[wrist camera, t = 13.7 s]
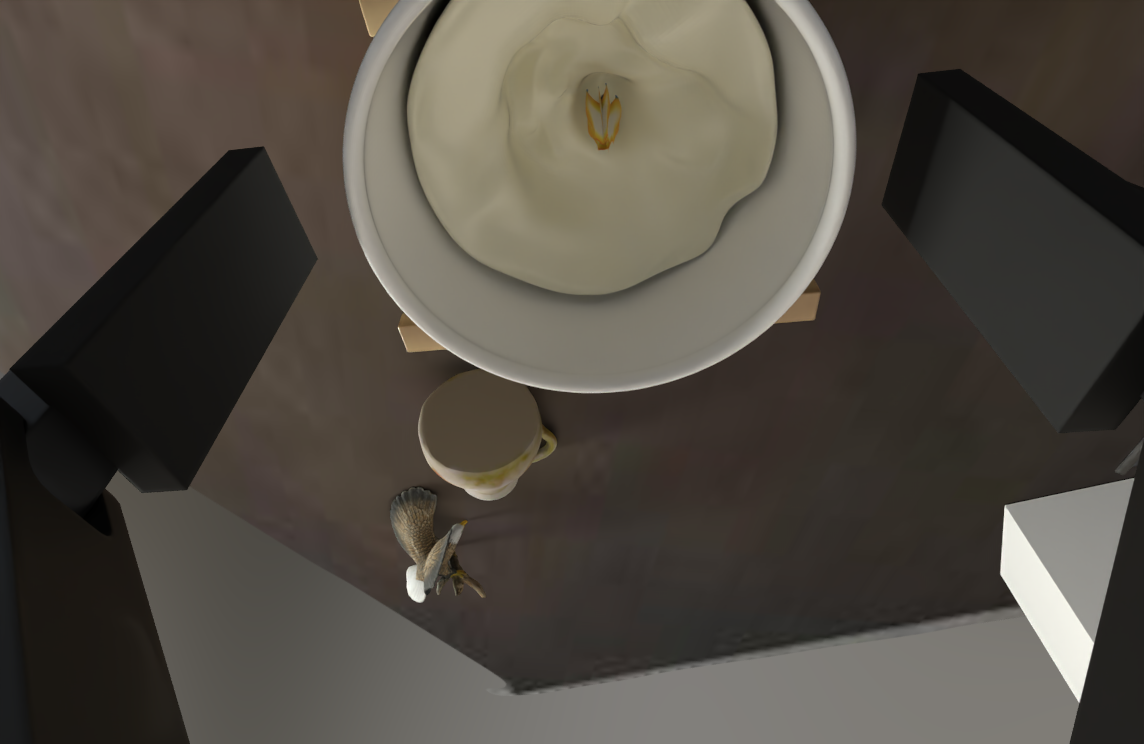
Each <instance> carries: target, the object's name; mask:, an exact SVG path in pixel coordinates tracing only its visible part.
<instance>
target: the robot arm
mask: <svg viewBox="0 0 1144 744" xmlns="http://www.w3.org/2000/svg"><path fill="white" fill-rule="evenodd" d="M882 206H883V208H884V209H885V210H886V212H887V213H888V214H889V215H890V217H891V218H892V219H893V221H894V222H895V223H896V224H897V226H898V227H899V228H900V230H901V231H902V232H903V233H904V235H905V236H906V237H907V239H908V240H909V241H910V242H911V244H912V245H913V246H914V248H915V249H916V250H917V252H918V253H919V254H920V255H921V257H922V258H923V259H924V261H925V262H926V263H927V264H928V266H929V267H930V268H931V270H932V271H933V272H934V273H935V275H936V276H937V277H938V279H939V280H940V281H941V282H942V284H943V285H944V286H945V288H946V289H947V290H948V291H949V293H950V294H951V295H952V297H953V298H954V299H955V301H956V302H957V303H958V304H959V306H960V307H961V308H962V310H963V311H964V312H965V313H966V315H967V316H968V317H969V319H970V320H971V321H972V322H973V324H974V325H975V326H976V328H977V329H978V330H979V331H980V333H981V334H982V335H983V337H984V338H985V339H986V340H987V342H988V343H989V344H990V346H991V347H992V348H993V350H994V351H995V352H996V353H997V355H998V356H999V357H1000V359H1001V360H1002V361H1003V362H1004V364H1005V365H1006V366H1007V368H1008V369H1009V370H1010V371H1011V373H1012V374H1013V375H1014V377H1015V378H1016V379H1017V380H1018V382H1019V383H1020V384H1021V386H1022V387H1023V388H1024V389H1025V391H1026V392H1027V393H1028V395H1029V396H1030V397H1031V399H1032V400H1033V401H1034V402H1035V404H1036V405H1037V406H1038V408H1039V409H1040V410H1041V411H1042V413H1043V414H1044V415H1045V417H1046V418H1047V419H1048V420H1049V422H1050V423H1051V424H1052V426H1053V427H1054V428H1055V429H1056V431H1057V432H1058V433H1069V432H1084V431H1099V430H1115V429H1116V428H1117V427H1118V426H1119V425H1120V424H1121V422H1122V421H1123V420H1124V419H1125V418H1126V416H1127V415H1128V414H1129V413H1130V411H1131V410H1132V409H1133V408H1134V407H1135V405H1136V404H1137V403H1138V402H1139V400H1140V399H1141V398H1142V399H1143V401H1144V188H1143V187H1140V186H1138V185H1135V184H1132V183H1130V182H1127V181H1125V180H1124V179H1122V178H1121V177H1119V176H1118V175H1116V174H1115V173H1113V172H1112V171H1111V170H1109V169H1108V168H1106V167H1105V166H1103V165H1102V164H1100V163H1099V162H1097V161H1096V160H1094V159H1093V158H1091V157H1090V156H1088V155H1087V154H1085V153H1084V152H1082V151H1081V150H1079V149H1078V148H1076V147H1075V146H1074V145H1072V144H1071V143H1069V142H1068V141H1066V140H1065V139H1063V138H1062V137H1060V136H1059V135H1057V134H1056V133H1054V132H1053V131H1051V130H1050V129H1048V128H1047V127H1045V126H1044V125H1042V124H1041V123H1039V122H1038V121H1037V120H1035V119H1034V118H1032V117H1031V116H1029V115H1028V114H1026V113H1025V112H1023V111H1022V110H1020V109H1019V108H1017V107H1016V106H1014V105H1013V104H1011V103H1010V102H1008V101H1007V100H1005V99H1004V98H1002V97H1001V96H999V95H998V94H997V93H995V92H994V91H992V90H991V89H989V88H988V87H986V86H985V85H983V84H982V83H980V82H979V81H977V80H976V79H974V78H973V77H971V76H970V75H968V74H967V73H965V72H964V71H962V70H961V69H955V70H946V71H937V72H928V73H919V74H918V77H917V80H916V84H915V87H914V91H913V95H912V98H911V102H910V105H909V109H908V112H907V116H906V120H905V123H904V127H903V130H902V134H901V137H900V141H899V144H898V148H897V152H896V155H895V159H894V162H893V166H892V169H891V173H890V177H889V180H888V184H887V187H886V191H885V194H884V198H883V202H882ZM317 259H318V258H317V256H316V254H315V252H314V250H313V248H312V246H311V244H310V242H309V240H308V237H307V235H306V233H305V231H304V229H303V227H302V225H301V223H300V221H299V219H298V217H297V215H296V212H295V210H294V208H293V206H292V204H291V202H290V200H289V198H288V196H287V194H286V192H285V190H284V187H283V185H282V183H281V181H280V179H279V177H278V175H277V173H276V171H275V169H274V167H273V165H272V162H271V160H270V158H269V156H268V154H267V152H266V150H265V148H264V146H263V147H254V148H245V149H237V150H229V151H228V152H227V153H226V154H225V155H224V156H223V157H222V158H221V159H220V160H219V161H218V162H217V163H216V164H215V165H214V166H213V167H212V168H211V169H210V170H209V171H208V172H207V173H206V174H205V175H204V176H203V177H202V178H201V179H200V180H199V181H198V182H197V183H196V184H195V185H194V186H193V187H192V188H191V189H190V190H189V191H188V192H187V193H186V194H185V195H184V196H183V197H182V198H181V199H180V200H179V201H178V202H177V203H176V204H175V205H174V206H173V207H172V208H171V209H170V210H169V211H168V212H167V213H166V214H165V215H164V216H163V217H162V218H161V219H159V220H158V221H157V222H156V223H155V224H154V225H153V226H152V227H151V228H150V229H149V230H148V231H147V232H146V233H145V234H144V235H143V236H142V237H141V238H140V239H139V240H138V241H137V242H136V243H135V244H134V245H133V246H132V247H131V248H130V249H129V250H128V251H127V252H126V253H125V254H124V255H123V256H122V257H121V258H120V259H119V260H118V261H117V262H116V263H115V264H114V265H113V266H112V267H111V268H110V269H109V270H108V271H107V272H106V273H105V274H104V275H103V276H102V277H101V278H100V279H99V280H98V281H97V282H96V283H95V284H94V285H93V286H92V287H91V288H90V289H89V290H88V291H87V292H86V293H85V294H84V295H83V296H82V297H81V298H80V299H79V300H78V301H77V302H76V303H75V304H74V305H73V306H72V307H71V308H70V309H69V310H68V311H67V312H66V313H65V314H64V315H63V316H62V317H61V318H60V319H59V320H58V321H57V322H56V323H55V324H54V325H53V326H52V327H51V328H50V329H49V330H48V331H47V332H46V333H45V334H44V335H43V336H42V337H41V338H40V339H39V340H38V341H37V342H36V343H35V344H34V345H33V346H32V347H31V348H30V349H29V350H28V351H27V352H26V353H25V354H24V355H23V356H22V357H21V358H20V359H19V360H18V361H17V362H16V363H15V364H14V365H13V366H12V367H11V368H10V371H9V372H8V373H7V374H6V375H5V376H4V377H3V378H2V379H1V380H0V744H190V743H189V739H188V736H187V732H186V729H185V725H184V722H183V719H182V715H181V712H180V708H179V705H178V702H177V698H176V695H175V691H174V688H173V684H172V681H171V677H170V674H169V671H168V667H167V664H166V661H165V657H164V654H163V650H162V647H161V643H160V640H159V636H158V633H157V630H156V626H155V623H154V619H153V616H152V613H151V609H150V606H149V602H148V599H147V595H146V592H145V589H144V585H143V582H142V578H141V575H140V572H139V568H138V564H137V561H136V558H135V555H134V551H133V548H132V544H131V541H130V538H129V534H128V530H127V527H126V523H125V520H124V517H123V513H122V510H121V507H120V503H119V502H118V501H117V500H116V498H115V497H114V496H113V495H112V494H111V493H109V492H108V491H107V490H106V489H105V488H106V486H107V485H108V483H109V482H110V480H111V479H112V477H113V476H114V475H115V473H116V472H117V470H118V471H119V472H120V473H121V474H122V475H123V476H124V477H125V478H126V479H127V480H128V481H129V482H131V483H132V484H133V485H134V486H135V487H136V488H137V489H138V490H139V491H140V492H141V493H148V492H164V491H179V490H187V489H188V487H189V485H190V484H191V482H192V480H193V478H194V477H195V475H196V473H197V471H198V470H199V468H200V466H201V464H202V462H203V461H204V459H205V457H206V455H207V454H208V452H209V450H210V448H211V447H212V445H213V443H214V441H215V439H216V438H217V436H218V434H219V432H220V431H221V429H222V427H223V425H224V424H225V422H226V420H227V418H228V417H229V415H230V413H231V411H232V409H233V408H234V406H235V404H236V402H237V401H238V399H239V397H240V395H241V394H242V392H243V390H244V388H245V386H246V385H247V383H248V381H249V379H250V378H251V376H252V374H253V372H254V371H255V369H256V367H257V365H258V364H259V362H260V360H261V358H262V356H263V355H264V353H265V351H266V349H267V348H268V346H269V344H270V342H271V341H272V339H273V337H274V335H275V333H276V332H277V330H278V328H279V326H280V325H281V323H282V321H283V319H284V318H285V316H286V314H287V312H288V310H289V309H290V307H291V305H292V303H293V302H294V300H295V298H296V296H297V295H298V293H299V291H300V289H301V288H302V286H303V284H304V282H305V280H306V279H307V277H308V275H309V273H310V272H311V270H312V268H313V266H314V265H315V263H316V261H317ZM1133 466H1137V470H1136V474H1135V478H1134V482H1133V486H1132V490H1131V494H1130V498H1129V502H1128V506H1127V510H1126V515H1125V519H1124V523H1123V527H1122V531H1121V535H1120V539H1119V543H1118V547H1117V551H1116V556H1115V560H1114V564H1113V568H1112V572H1111V576H1110V580H1109V584H1108V588H1107V592H1106V597H1105V601H1104V605H1103V609H1102V613H1101V617H1100V621H1099V625H1098V629H1097V633H1096V637H1095V642H1094V646H1093V650H1092V654H1091V658H1090V662H1089V666H1088V670H1087V674H1086V678H1085V683H1084V687H1083V691H1082V695H1081V699H1080V703H1079V708H1078V711H1077V715H1076V719H1075V724H1074V728H1073V732H1072V736H1071V740H1070V744H1144V437H1143V438H1142V439H1141V441H1140V442H1139V443H1138V444H1137V445H1136V446H1135V447H1134V449H1133V450H1132V451H1131V452H1130V453H1129V454H1128V455H1127V456H1126V458H1125V459H1124V460H1123V461H1122V462H1121V463H1120V465H1119V466H1118V467H1117V469H1116V470H1115V471H1114V472H1117V473H1119V474H1122V475H1125V474H1126V473H1127V472H1128V470H1129V469H1130V468H1131V467H1133Z"/></svg>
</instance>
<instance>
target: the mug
mask: <svg viewBox="0 0 1144 744" xmlns="http://www.w3.org/2000/svg"><path fill="white" fill-rule="evenodd" d="M418 433H419V438H420V442H421V447H422V450H423V453H424V455H425V458H426V460H427V462H428V463H429V465H430V467H431V468H432V469H433V470H434V471H435V472H436V473H437V474H438V475H439V476H440V477H441V478H443V479H444V480H446V481H447V482H449V483H451V484H453V485H455V486H458V487H461V488H464V489H465V490H466V492H467V493H469V494H470V495H472V496H474V497H476V498H478V499H481V500H496V499H500V498H502V497H504V496H506V495H507V494H508V493H510V492H511V490H512V489H513V488H514V487H515V485H516V483H517V481H518V478H519V477H520V476H521V475H522V474H523V473H524V472H525V471H526V470H527V469H528V467H529V466H530V465H531V463H533V462H536V461H539V460H541V459H543V458H545V457H547V456H549V455H550V454H551V453H552V452H553V451H554V450H555V448H556V446H557V440H556V437H555V435H554V434H553V433H552V432H551V431H549V430H548V429H547V428H545V427H544V426H543V424H542V422H541V416H540V412H539V409H538V405H537V403H536V401H535V399H534V397H533V396H532V394H531V392H530V391H529V389H528V387H527V385H525V384H521V383H518V382H515V381H511V380H508V379H505V378H503V377H500V376H497V375H495V374H492V373H490V372H487V371H485V370H483V369H474V370H471V371H467V372H462V373H461V374H456V375H455V376H454V377H451V378H450V379H449V380H447V381H446V382H444V383H443V384H441V385H440V386H439V387H438V388H437V389H436V390H435V391H434V392H433V393H432V394H431V395H430V397H429V398H428V399H427V400H426V401H425V403H424V404H423V407H422V410H421V414H420V418H419V425H418ZM541 438H543V439H545V440H546V441H547V443H546V445H545V446H544V447H542V448H540V449H539V447H540V443H541Z"/></svg>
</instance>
